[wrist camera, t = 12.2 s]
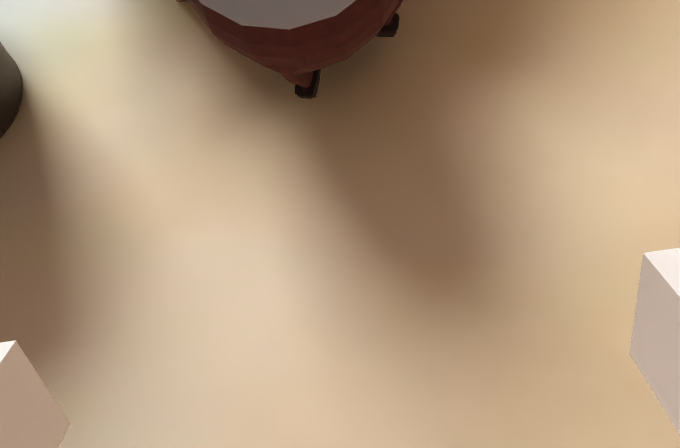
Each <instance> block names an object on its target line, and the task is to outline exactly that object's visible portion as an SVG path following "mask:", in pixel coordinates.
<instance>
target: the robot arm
mask: <svg viewBox="0 0 680 448" xmlns="http://www.w3.org/2000/svg"><path fill="white" fill-rule="evenodd" d="M629 354H630V356H631V357H632V359H633V361H634V362H635V364H636V365H637V367H638V369H639V370H640V372H641V374H642V375H643V377H644V378H645V380H646V382H647V383H648V385H649V386H650V388H651V390H652V391H653V393H654V395H655V396H656V398H657V399H658V401H659V403H660V404H661V406H662V408H663V409H664V411H665V412H666V414H667V416H668V417H669V419H670V420H671V422H672V424H673V425H674V427H675V429H676V430H677V432H678V433H679V435H680V248H675V249H667V250H660V251H653V252H646V253H643V258H642V265H641V273H640V280H639V287H638V294H637V302H636V309H635V316H634V323H633V331H632V338H631V345H630V352H629ZM69 425H70V423H69V421H68V420H67V418H66V417H65V415H64V413H63V412H62V410H61V409H60V407H59V406H58V404H57V403H56V401H55V400H54V398H53V397H52V395H51V393H50V392H49V390H48V389H47V387H46V386H45V384H44V383H43V381H42V380H41V378H40V377H39V375H38V373H37V372H36V370H35V369H34V367H33V366H32V364H31V363H30V361H29V360H28V358H27V357H26V355H25V354H24V352H23V350H22V349H21V347H20V346H19V344H18V343H17V341H16V340H15V341H8V342H1V343H0V448H58V447H59V445H60V443H61V441H62V439H63V437H64V435H65V433H66V431H67V429H68V427H69Z"/></svg>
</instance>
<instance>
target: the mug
mask: <svg viewBox="0 0 680 448" xmlns="http://www.w3.org/2000/svg"><path fill="white" fill-rule="evenodd" d="M21 97H22V81H21V76H20V72H19V69H18V67H17V65H16V63H15V61H14V60H13V58H12V57H11V56H10V55H9V54H8V53H7V51H6V50H5V48H4V47H3V45H2V44H1V42H0V137H1V136H2V135H3V134H4V133H5V131H6V130H7V129H8V128H9V126H10V125H11V123H12V122H13V120H14V118H15V116H16V114H17V112H18V109H19V105H20V102H21Z"/></svg>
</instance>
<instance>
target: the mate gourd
mask: <svg viewBox="0 0 680 448" xmlns="http://www.w3.org/2000/svg"><path fill="white" fill-rule="evenodd" d="M402 1H403V0H189V2H190V3H191V4H192V6H193V7H194V8H195V10H196V11H197V12H198V14H199V15H200V16H201V17H202V19H203V20H204V21H205V23H206V24H207V25H208V27H209V28H210V29H211V31H212V32H213V33H214V35H216V36H217V37H218V38H219V39H220V40H221V41H222V42H223V43H224V44H226V45H227V46H229V47H231V48H233V49H235V50H236V51H238V52H240V53H242V54H244V55H245V56H247V57H249V58H251V59H252V60H254V61H256V62H258V63H260V64H261V65H263V66H265V67H268V68H270V69H273V70H275V71H278V72H280V73H282V75H283V76H284V77H285V78H286V79H287V80H288V81H289V82H291V83H293V84H295V94H297V95H298V96H299V97H300V98H309V99H312V98H315V97H316V95H317V90H318V85H319V79H320V72H321V68H323V67H326V66H329V65H331V64H334V63H337V62H340V61H343V60H345V59H347V58H348V57H349V56H351V55H352V54H353V53H355V52H356V51H357V50H358V49H360V48H361V47H362V46H364V45H365V44H366V43H367V42H369V41H370V40H371V39H372V38H374V37H375V36H377V37H394V35H395V34H396V31H397V29H398V24H399V15H398V14H397V13H395V12H396V11H397V9H398V8H399V7H400V5H401V3H402Z"/></svg>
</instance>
